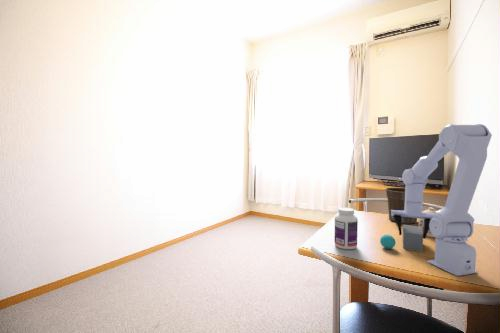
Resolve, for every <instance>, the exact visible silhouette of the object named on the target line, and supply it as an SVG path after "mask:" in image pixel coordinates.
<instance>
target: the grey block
mask: <svg viewBox="0 0 500 333" xmlns="http://www.w3.org/2000/svg"><path fill="white" fill-rule="evenodd" d="M401 238H402V239H401V240H402V248H403V250H409V251H417V252H423V249H424V248H423V247H424V246H423V245H424V244H423V243H424V239H423V233H422V230H421V227H419V225H418V226H417V225H412V224H402V237H401Z"/></svg>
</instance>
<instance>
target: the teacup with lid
mask: <svg viewBox="0 0 500 333" xmlns="http://www.w3.org/2000/svg"><path fill="white" fill-rule="evenodd" d="M437 211H438V210H435V208H434V207H431V206H430V207H428V209H425V210H422V212H423V213H429V214H435V212H437ZM418 226H419V227H421V230H422V233H423V229H424V219H420V218H418ZM426 237H428V238H435V239H436V237H434V236H433V234H432V233H431V231H430V229H429V230H428V232H427V235H426Z"/></svg>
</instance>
